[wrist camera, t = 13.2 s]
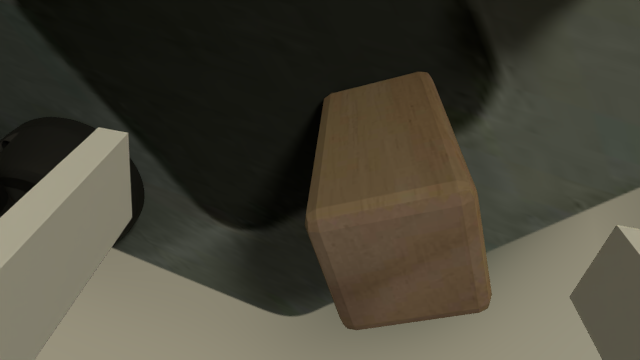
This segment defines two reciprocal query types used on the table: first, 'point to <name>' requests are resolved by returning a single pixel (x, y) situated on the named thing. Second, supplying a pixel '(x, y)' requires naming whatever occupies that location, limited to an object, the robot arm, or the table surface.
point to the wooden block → (395, 208)
